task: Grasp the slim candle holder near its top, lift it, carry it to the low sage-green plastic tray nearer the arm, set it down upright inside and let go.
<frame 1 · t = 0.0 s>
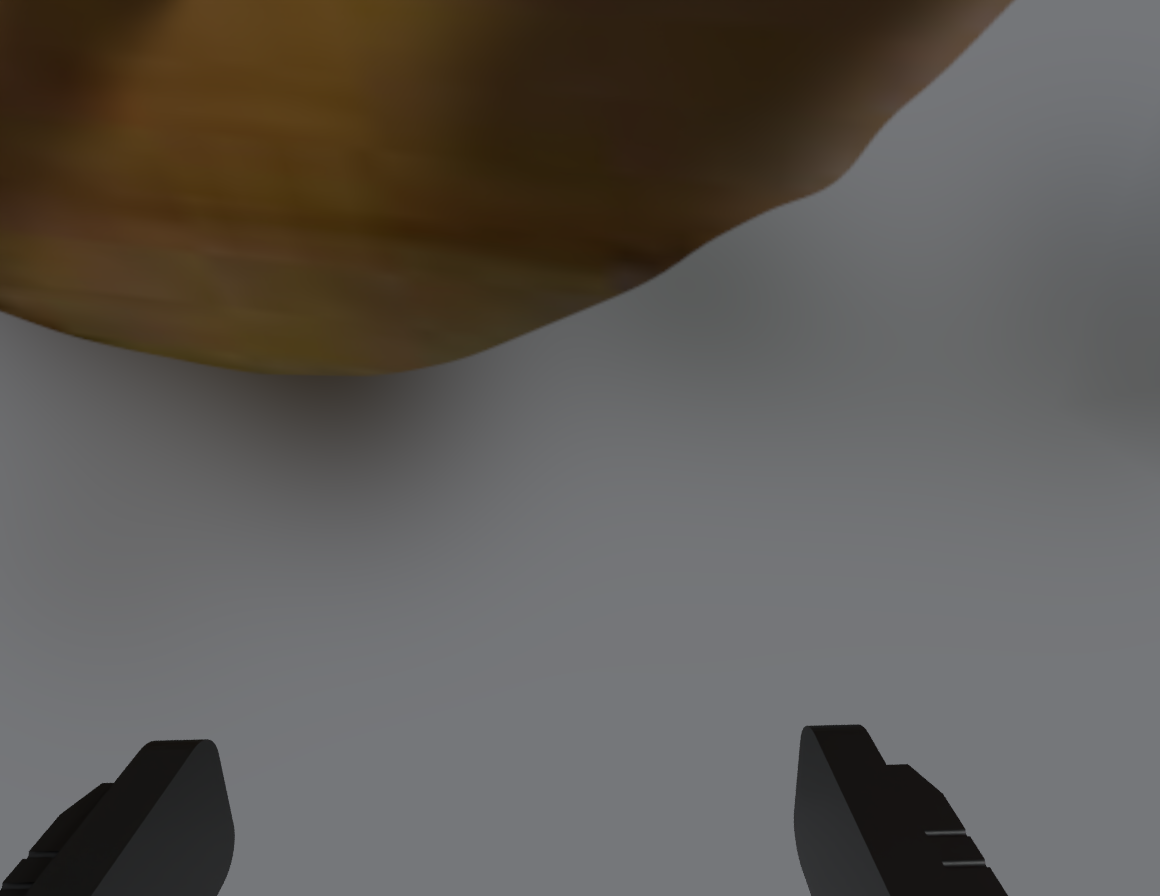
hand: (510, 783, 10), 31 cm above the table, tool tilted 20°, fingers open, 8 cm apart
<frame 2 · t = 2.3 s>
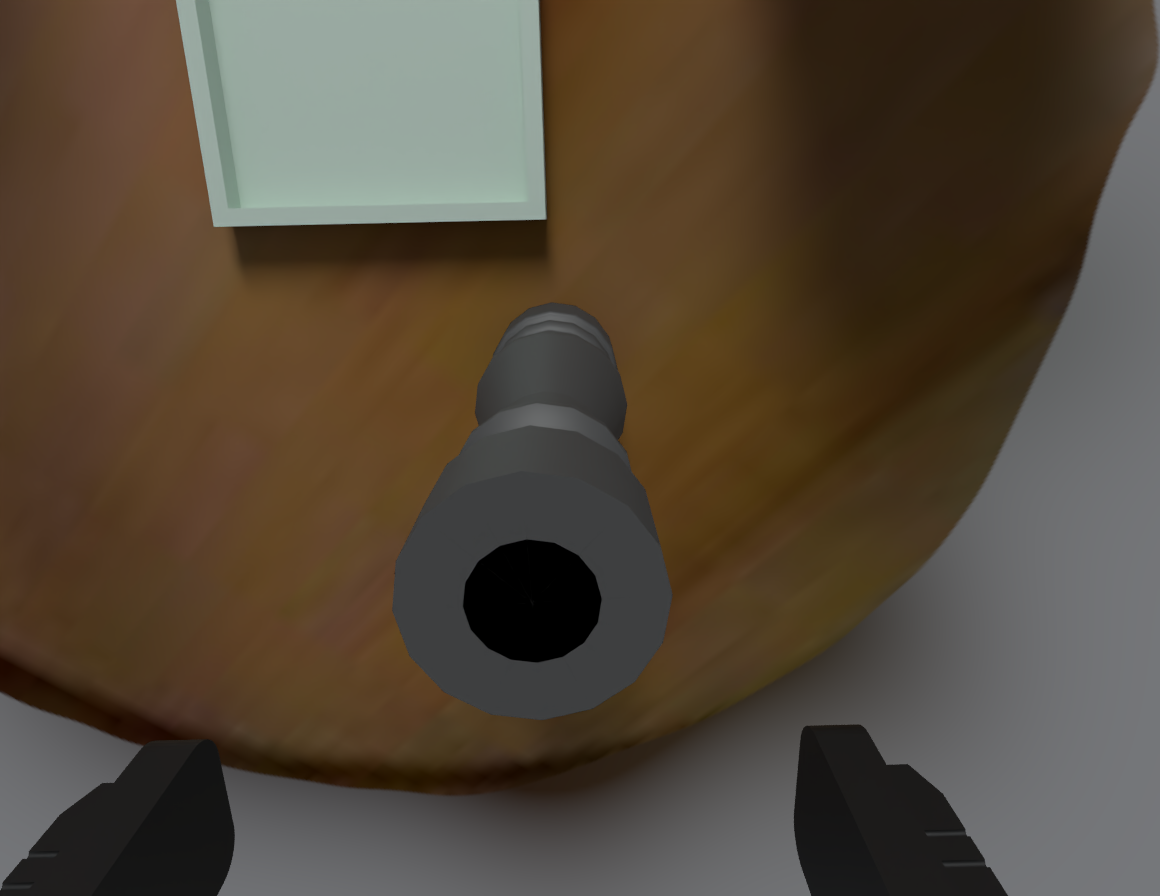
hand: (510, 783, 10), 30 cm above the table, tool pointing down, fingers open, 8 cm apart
candle holder: (555, 361, 39), on the table
tray: (373, 46, 34), on the table
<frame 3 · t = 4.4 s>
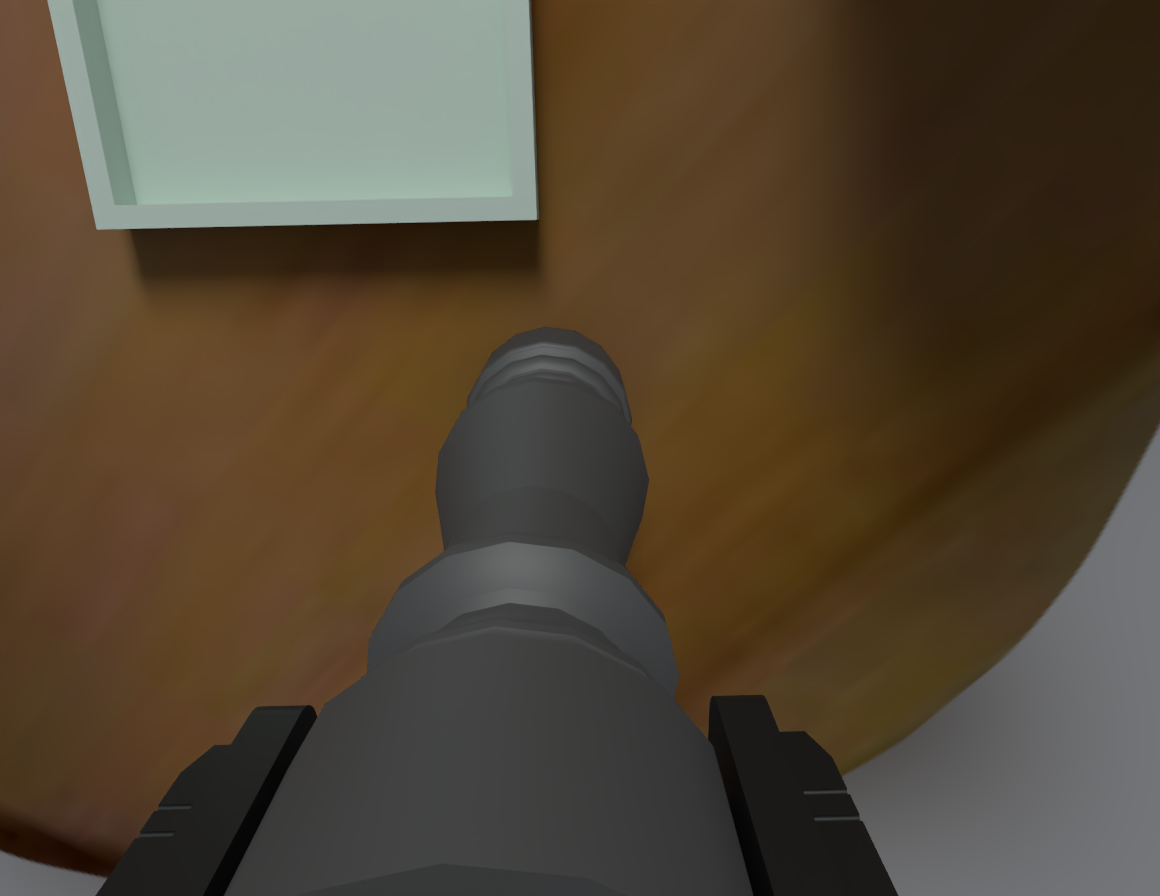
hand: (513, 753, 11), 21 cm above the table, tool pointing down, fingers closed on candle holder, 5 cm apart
candle holder: (550, 401, 30), on the table, touching gripper
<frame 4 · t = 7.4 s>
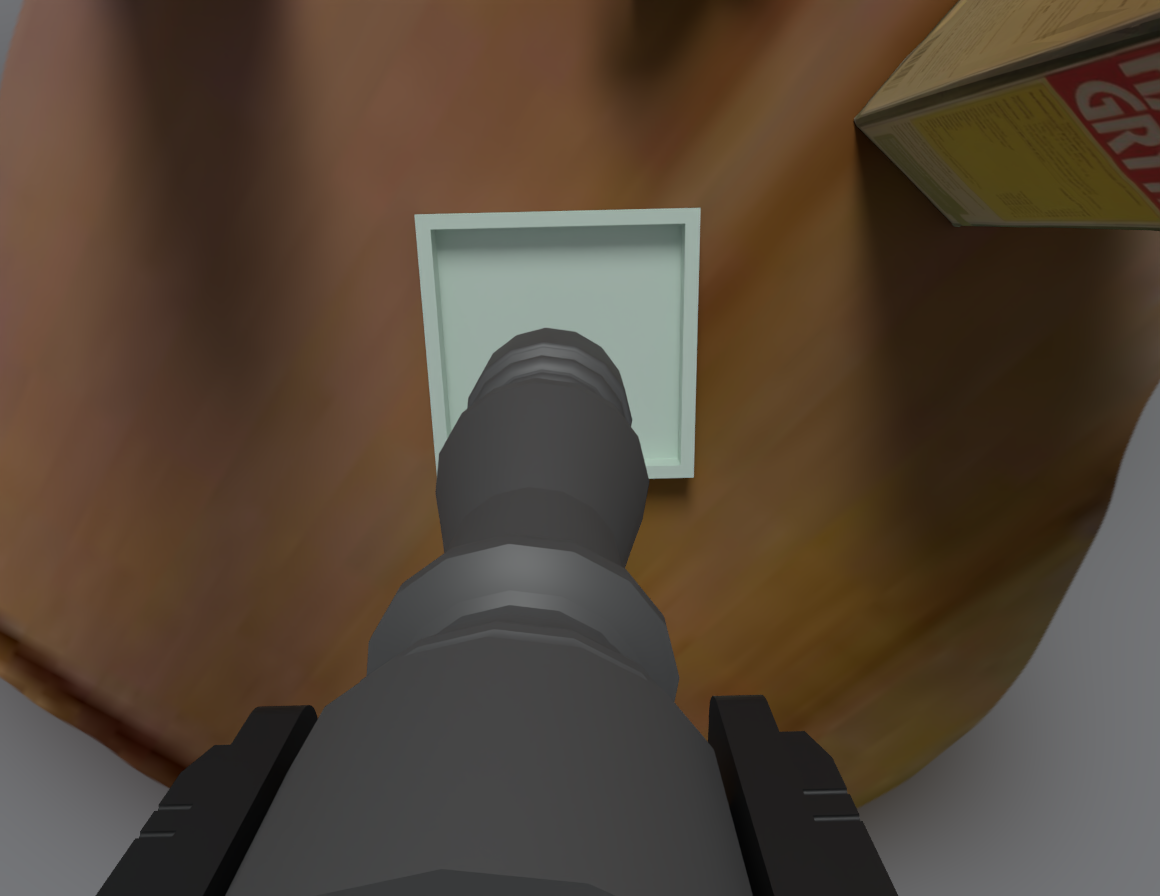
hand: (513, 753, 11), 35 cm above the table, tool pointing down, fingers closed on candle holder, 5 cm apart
candle holder: (551, 401, 30), point 14 cm above the table, touching gripper
food packaging: (992, 82, 40), on the table
tray: (562, 347, 44), on the table
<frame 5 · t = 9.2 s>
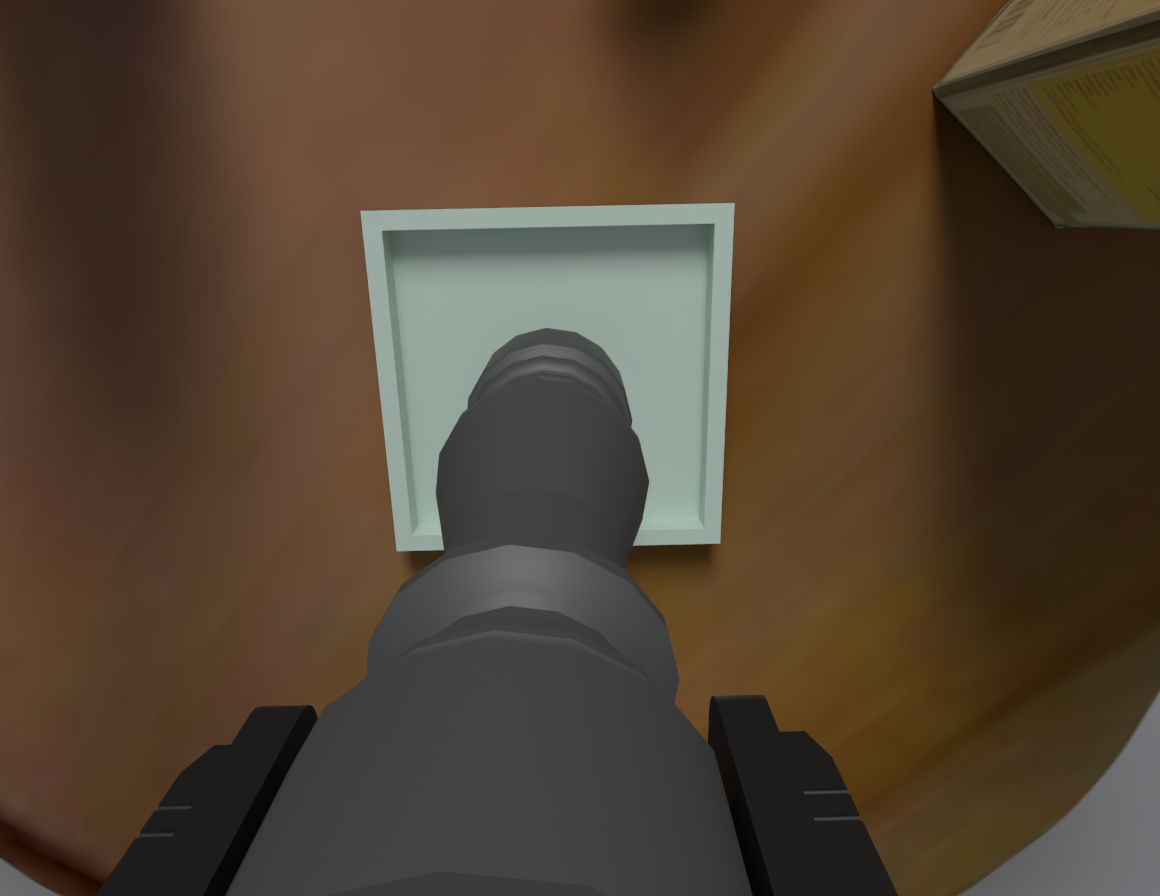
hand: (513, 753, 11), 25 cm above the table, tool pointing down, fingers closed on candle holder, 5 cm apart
candle holder: (551, 401, 30), point 5 cm above the table, touching gripper
food packaging: (1113, 40, 31), on the table
tray: (554, 379, 35), on the table
when the fingers open (22 cm above the table, at t = 10.8 s): candle holder drops 1 cm, resting on tray.
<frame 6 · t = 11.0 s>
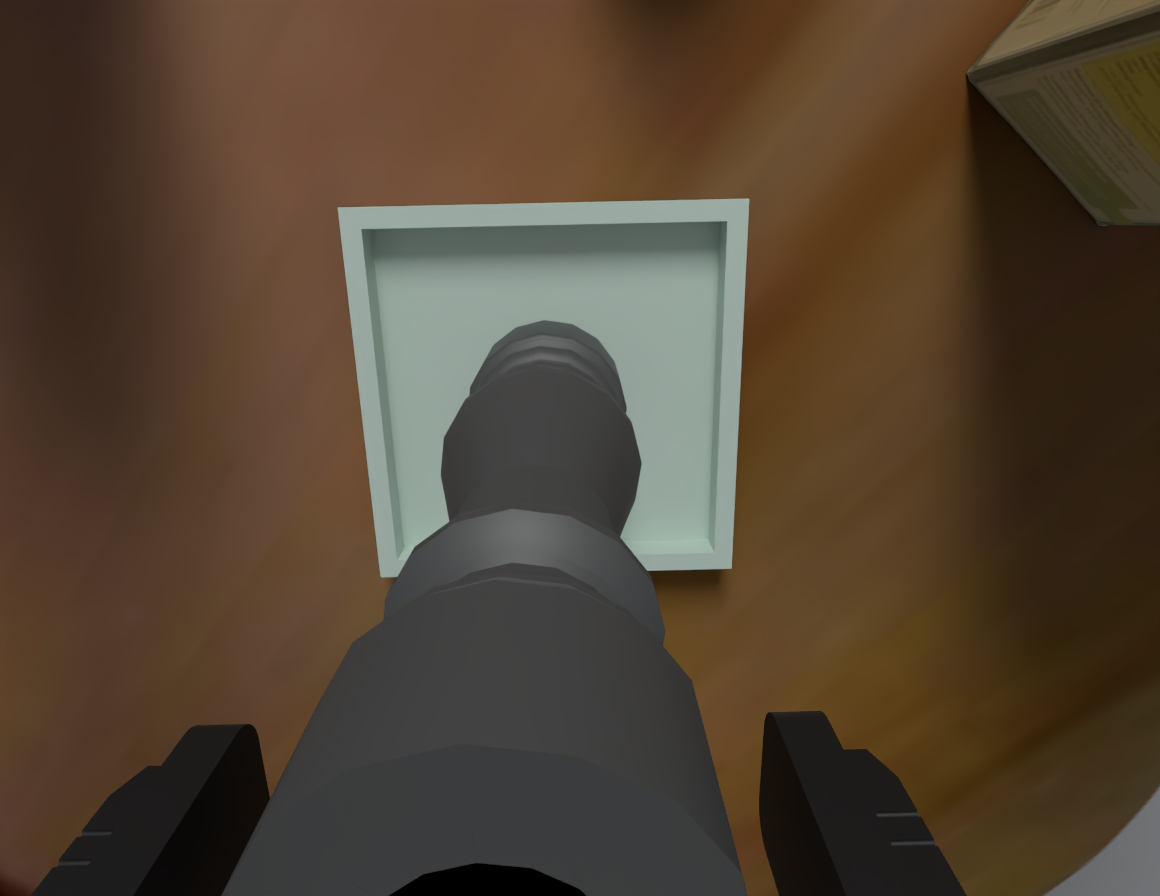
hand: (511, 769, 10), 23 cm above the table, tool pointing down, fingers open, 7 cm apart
candle holder: (549, 391, 32), resting on tray
tray: (551, 391, 32), on the table
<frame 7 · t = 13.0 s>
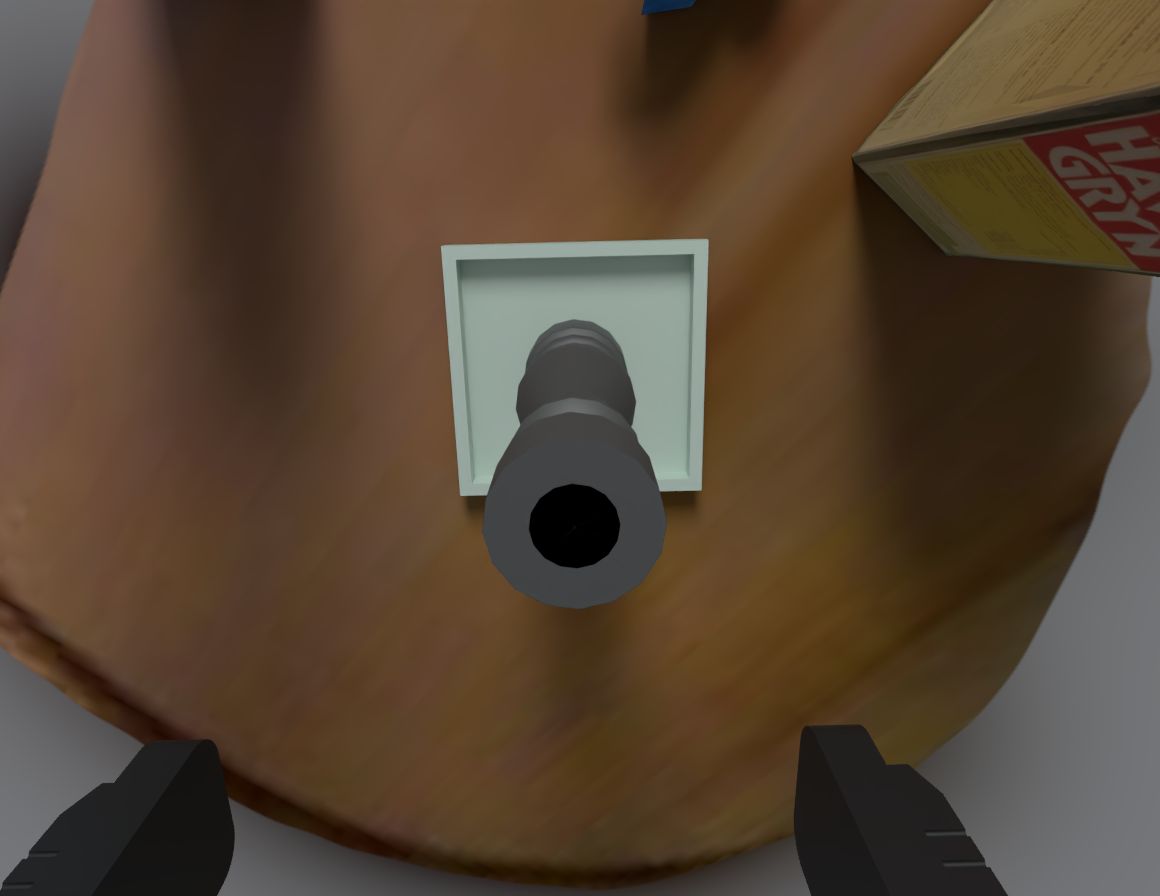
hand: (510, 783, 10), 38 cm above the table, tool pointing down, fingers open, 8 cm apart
candle holder: (576, 367, 46), resting on tray
food packaging: (982, 121, 43), on the table
tray: (577, 368, 47), on the table
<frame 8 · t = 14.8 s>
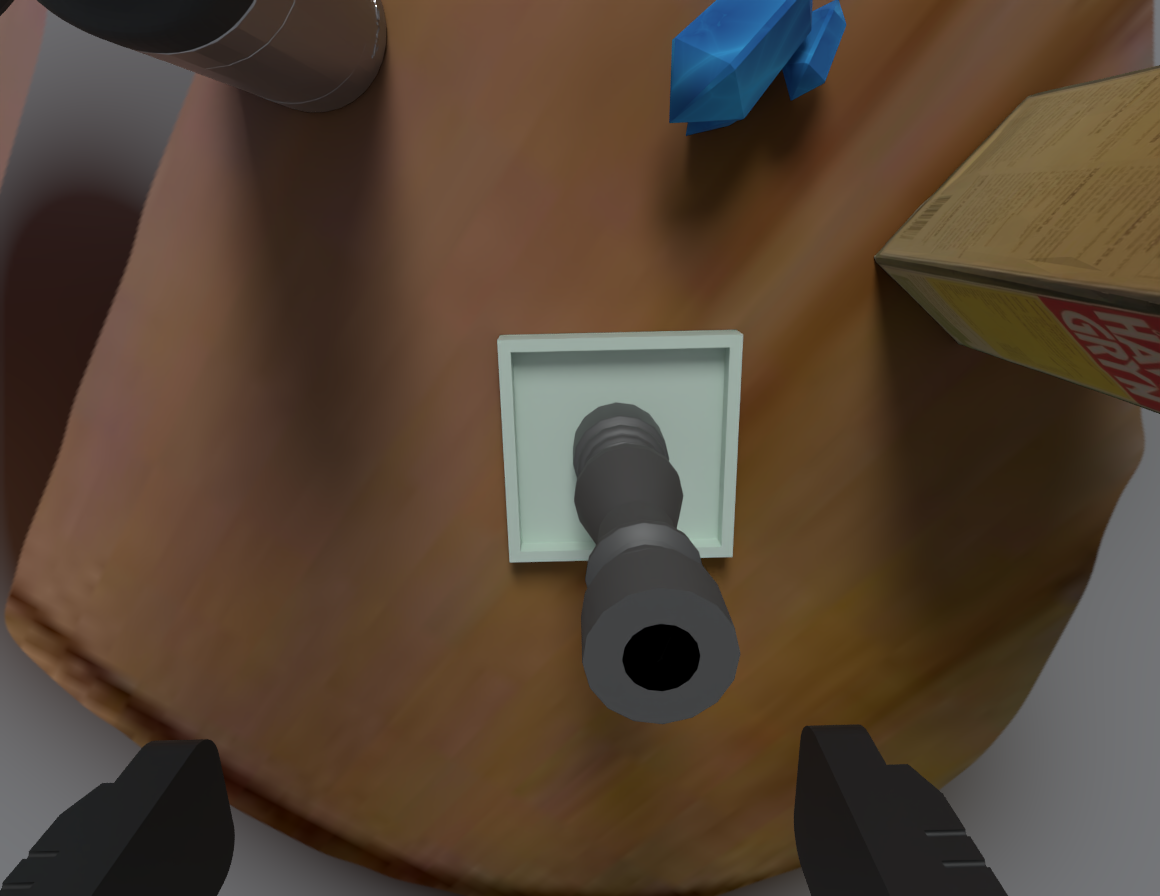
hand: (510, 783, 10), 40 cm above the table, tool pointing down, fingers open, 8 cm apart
candle holder: (617, 445, 50), resting on tray
crystal: (733, 75, 44), on the table
food packaging: (993, 226, 47), on the table
tray: (618, 444, 51), on the table
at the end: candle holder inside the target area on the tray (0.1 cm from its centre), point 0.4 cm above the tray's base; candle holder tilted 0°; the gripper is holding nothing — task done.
